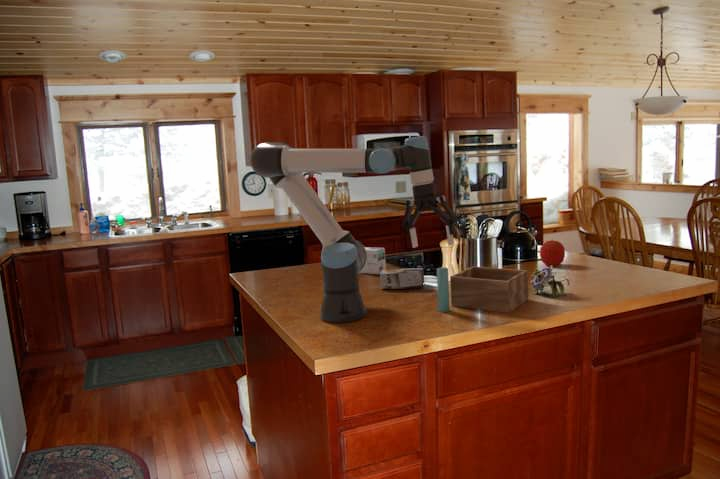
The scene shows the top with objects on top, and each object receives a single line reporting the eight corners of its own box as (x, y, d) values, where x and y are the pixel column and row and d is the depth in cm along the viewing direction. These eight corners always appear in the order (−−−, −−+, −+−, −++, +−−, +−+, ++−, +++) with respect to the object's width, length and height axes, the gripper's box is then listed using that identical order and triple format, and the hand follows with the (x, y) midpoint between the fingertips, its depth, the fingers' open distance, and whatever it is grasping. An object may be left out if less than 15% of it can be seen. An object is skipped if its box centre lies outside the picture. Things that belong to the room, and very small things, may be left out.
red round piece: (568, 267, 230) (568, 240, 229) (544, 268, 231) (544, 241, 229) (560, 262, 240) (560, 236, 239) (537, 264, 241) (536, 237, 239)
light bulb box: (386, 271, 246) (385, 247, 244) (379, 274, 240) (377, 250, 239) (366, 270, 252) (364, 246, 250) (358, 273, 246) (356, 249, 245)
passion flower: (537, 309, 194) (521, 279, 199) (564, 299, 196) (548, 270, 201) (549, 298, 184) (532, 266, 188) (577, 288, 186) (560, 257, 191)
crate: (508, 312, 174) (507, 281, 173) (451, 305, 186) (450, 276, 185) (528, 299, 187) (527, 270, 186) (473, 293, 200) (472, 266, 198)
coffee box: (380, 289, 214) (422, 289, 210) (379, 273, 213) (421, 272, 209) (384, 284, 222) (424, 283, 219) (383, 268, 222) (423, 267, 218)
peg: (446, 312, 179) (444, 270, 177) (436, 311, 181) (434, 269, 179) (451, 309, 182) (449, 267, 179) (441, 308, 184) (440, 267, 182)
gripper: (462, 177, 180) (471, 240, 183) (396, 186, 194) (406, 245, 197) (452, 180, 174) (462, 245, 177) (385, 189, 188) (395, 250, 191)
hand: (433, 245), depth 187 cm, fingers open, 13 cm apart
